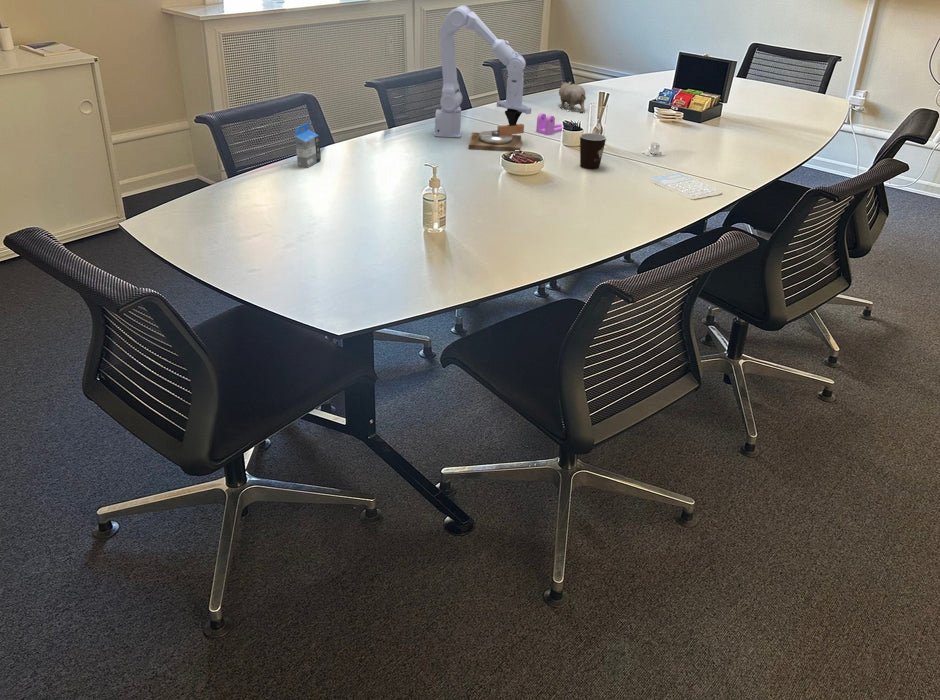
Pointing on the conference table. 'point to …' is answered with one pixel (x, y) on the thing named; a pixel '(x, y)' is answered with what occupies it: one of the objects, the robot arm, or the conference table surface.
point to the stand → (480, 145)
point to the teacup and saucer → (653, 148)
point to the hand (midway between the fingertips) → (512, 130)
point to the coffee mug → (591, 150)
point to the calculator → (684, 184)
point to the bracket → (547, 125)
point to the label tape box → (307, 146)
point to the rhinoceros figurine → (572, 95)
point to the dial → (501, 134)
